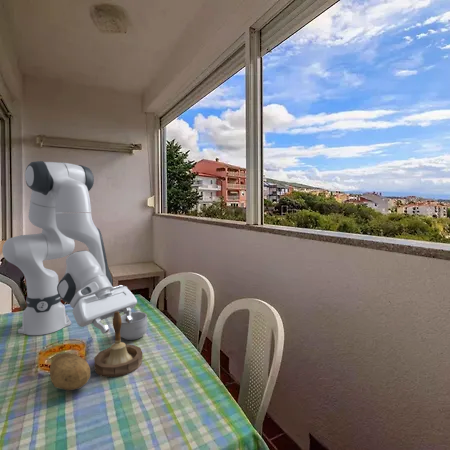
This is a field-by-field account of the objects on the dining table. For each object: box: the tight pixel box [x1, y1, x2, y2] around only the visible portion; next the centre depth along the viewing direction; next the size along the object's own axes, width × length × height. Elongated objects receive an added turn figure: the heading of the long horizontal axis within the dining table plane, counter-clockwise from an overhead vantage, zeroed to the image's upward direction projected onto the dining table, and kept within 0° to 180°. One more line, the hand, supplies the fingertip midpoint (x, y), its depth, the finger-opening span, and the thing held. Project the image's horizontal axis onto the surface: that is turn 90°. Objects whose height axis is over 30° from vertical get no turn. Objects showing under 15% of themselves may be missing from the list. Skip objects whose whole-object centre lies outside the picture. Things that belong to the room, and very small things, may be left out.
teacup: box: [120, 310, 148, 341], centre depth 116 cm, size 14×11×8 cm
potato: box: [49, 352, 91, 391], centre depth 83 cm, size 10×14×8 cm
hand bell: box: [105, 311, 133, 365], centre depth 93 cm, size 8×8×16 cm
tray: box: [93, 344, 144, 378], centre depth 94 cm, size 14×14×3 cm
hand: (118, 326), depth 93 cm, fingers open, 8 cm apart
